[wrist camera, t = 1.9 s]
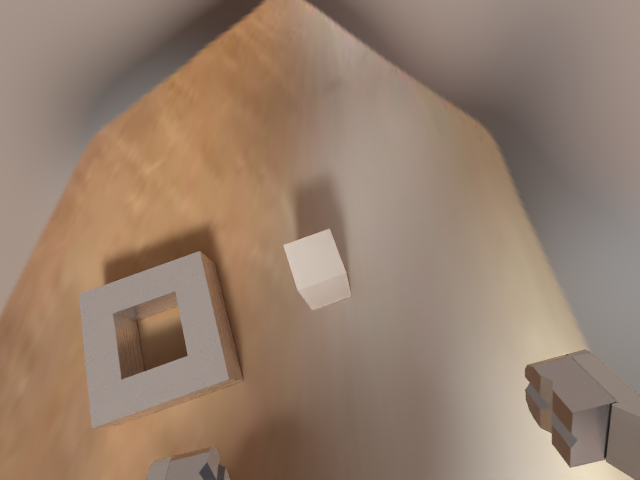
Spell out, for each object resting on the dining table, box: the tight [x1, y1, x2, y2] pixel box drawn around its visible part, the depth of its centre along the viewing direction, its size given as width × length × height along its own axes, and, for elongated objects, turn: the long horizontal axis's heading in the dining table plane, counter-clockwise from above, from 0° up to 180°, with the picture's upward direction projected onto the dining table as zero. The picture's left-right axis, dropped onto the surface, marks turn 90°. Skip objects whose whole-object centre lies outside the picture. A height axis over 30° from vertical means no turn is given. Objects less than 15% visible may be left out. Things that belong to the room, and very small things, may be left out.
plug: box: [283, 229, 351, 310], centre depth 36 cm, size 4×4×8 cm
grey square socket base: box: [79, 251, 243, 428], centre depth 38 cm, size 12×12×4 cm
